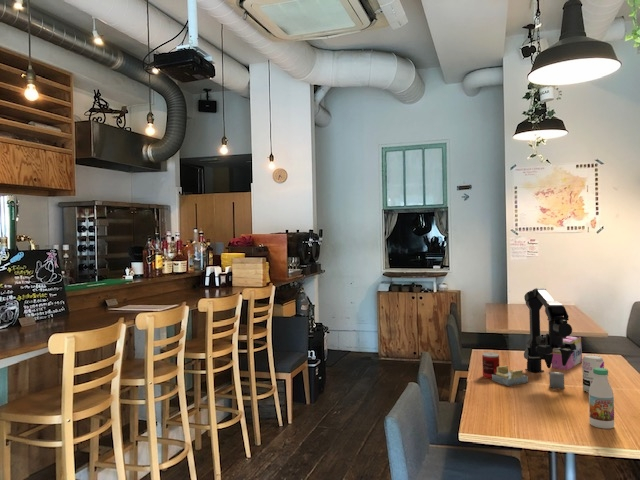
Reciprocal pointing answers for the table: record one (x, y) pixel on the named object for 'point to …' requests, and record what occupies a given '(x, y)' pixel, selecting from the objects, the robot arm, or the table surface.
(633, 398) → the table surface
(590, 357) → the supplement can
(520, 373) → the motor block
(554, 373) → the grey rounded piece
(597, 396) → the milk bottle
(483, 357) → the canned food
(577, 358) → the pink drink carton pack
